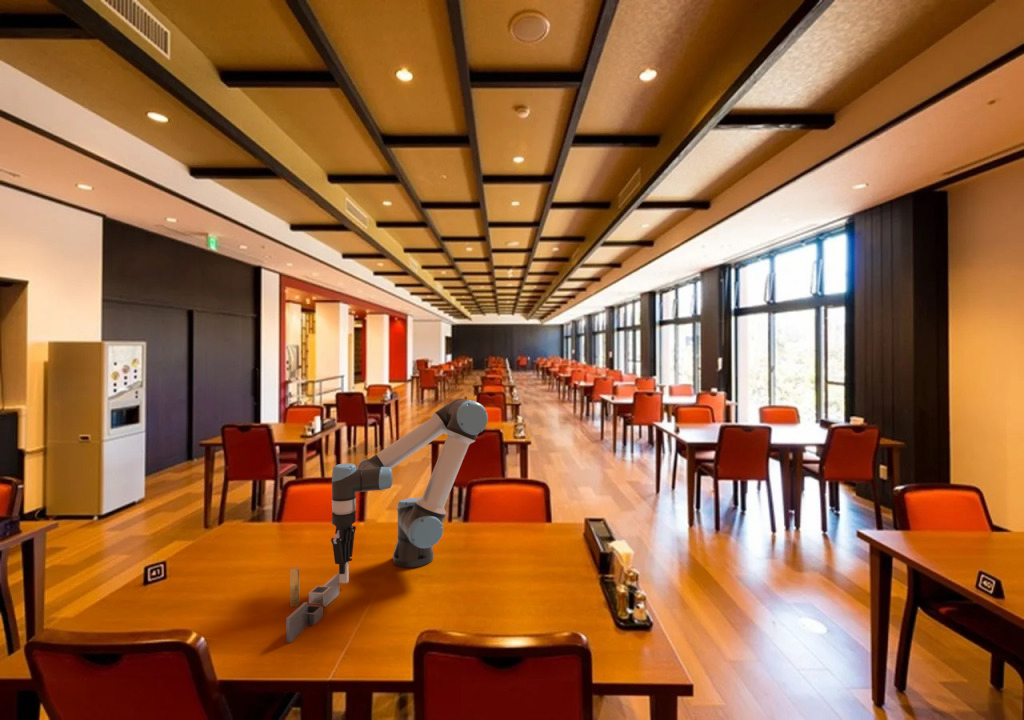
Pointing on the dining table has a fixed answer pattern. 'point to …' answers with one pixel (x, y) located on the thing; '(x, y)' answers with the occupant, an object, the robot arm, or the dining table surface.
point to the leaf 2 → (325, 592)
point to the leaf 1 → (302, 620)
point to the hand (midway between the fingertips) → (343, 581)
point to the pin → (294, 587)
